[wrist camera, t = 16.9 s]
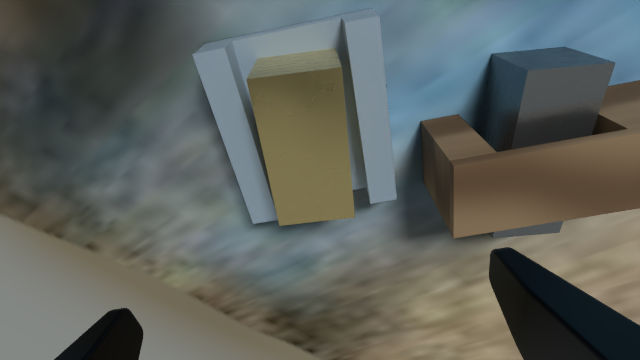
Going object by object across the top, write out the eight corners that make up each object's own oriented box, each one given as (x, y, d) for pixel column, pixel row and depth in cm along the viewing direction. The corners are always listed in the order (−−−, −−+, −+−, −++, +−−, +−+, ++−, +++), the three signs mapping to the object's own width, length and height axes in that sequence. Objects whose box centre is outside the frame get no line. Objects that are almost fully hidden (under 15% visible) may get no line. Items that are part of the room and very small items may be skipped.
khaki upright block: (257, 58, 17) (246, 79, 13) (335, 48, 16) (341, 66, 13) (283, 186, 20) (279, 225, 17) (347, 178, 20) (354, 217, 17)
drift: (489, 52, 18) (528, 70, 15) (562, 45, 18) (615, 62, 15) (467, 200, 23) (492, 238, 19) (524, 196, 23) (559, 232, 19)
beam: (420, 121, 19) (453, 166, 15) (650, 78, 19) (756, 112, 14) (423, 182, 21) (453, 238, 17) (630, 146, 21) (718, 195, 16)
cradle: (205, 43, 17) (189, 55, 15) (371, 8, 17) (381, 15, 14) (257, 197, 22) (251, 224, 19) (389, 174, 21) (398, 198, 19)
